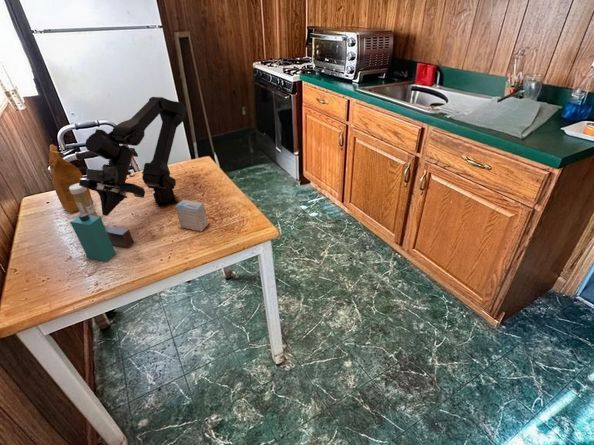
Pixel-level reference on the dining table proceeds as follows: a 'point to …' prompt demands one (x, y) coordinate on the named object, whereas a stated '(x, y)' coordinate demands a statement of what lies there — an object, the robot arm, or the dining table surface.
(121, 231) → the walnut block
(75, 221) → the plastic bottle
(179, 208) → the medicine box
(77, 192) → the sprinkles bottle
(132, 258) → the dining table surface
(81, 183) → the robot arm
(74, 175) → the coffee package
